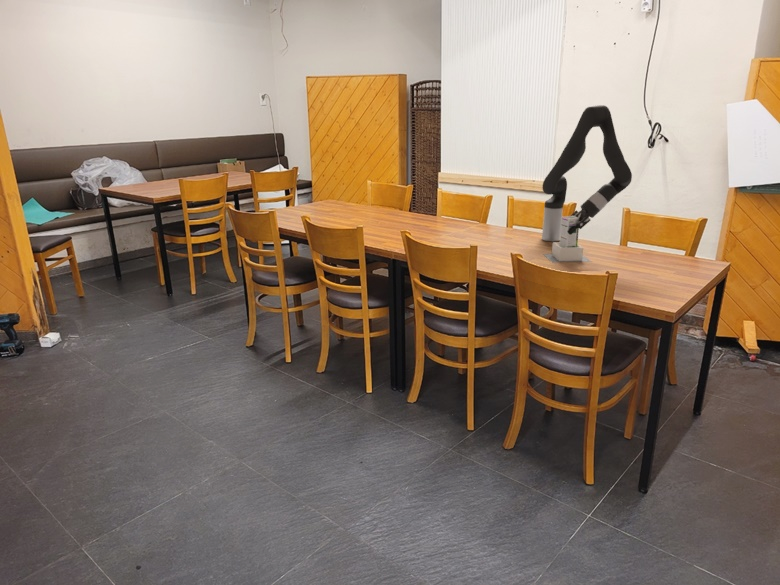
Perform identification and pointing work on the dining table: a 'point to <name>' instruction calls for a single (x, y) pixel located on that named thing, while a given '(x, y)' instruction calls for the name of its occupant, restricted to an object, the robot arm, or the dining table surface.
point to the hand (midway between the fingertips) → (565, 231)
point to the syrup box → (565, 237)
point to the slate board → (564, 261)
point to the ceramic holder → (567, 252)
